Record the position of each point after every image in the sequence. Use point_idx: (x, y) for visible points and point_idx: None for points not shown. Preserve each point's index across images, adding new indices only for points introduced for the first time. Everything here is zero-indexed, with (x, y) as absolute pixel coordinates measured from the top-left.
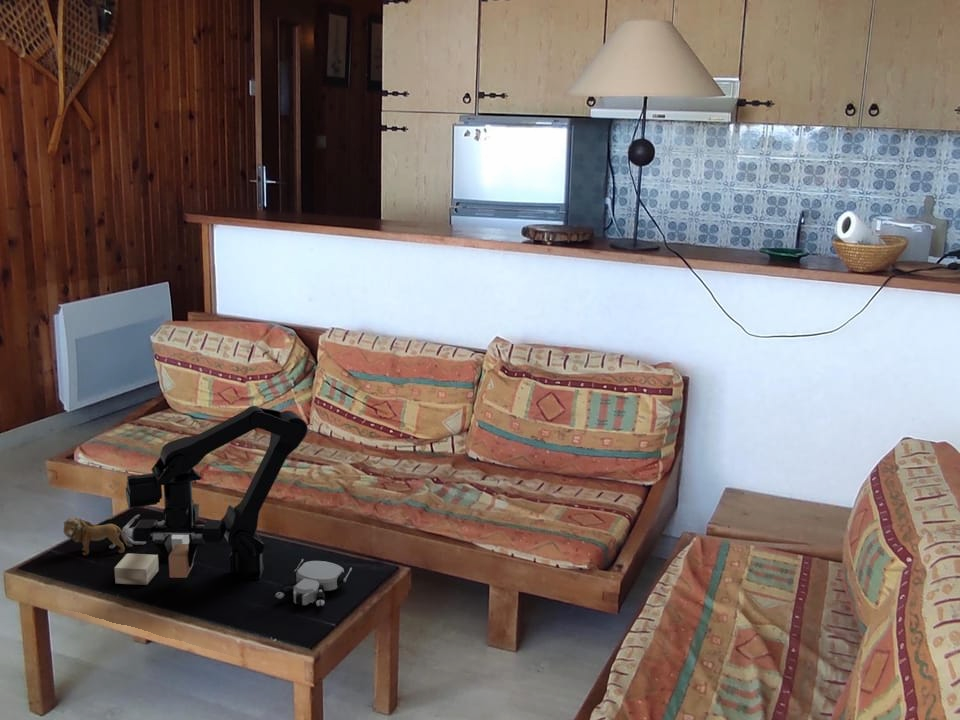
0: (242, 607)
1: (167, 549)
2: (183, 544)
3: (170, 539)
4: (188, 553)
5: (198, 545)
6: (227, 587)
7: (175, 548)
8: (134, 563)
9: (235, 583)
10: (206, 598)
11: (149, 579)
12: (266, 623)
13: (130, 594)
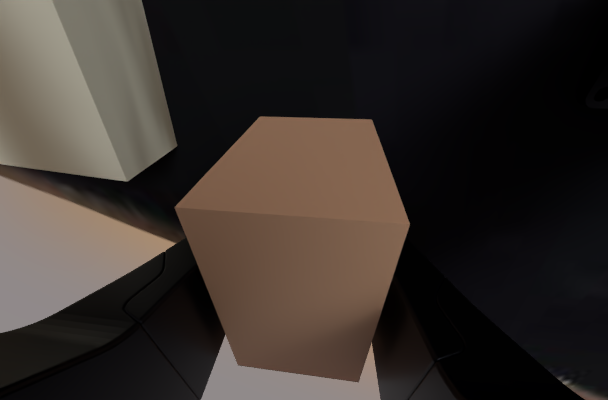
0: (535, 294)
1: (196, 393)
2: (281, 228)
3: (99, 395)
4: (378, 379)
5: (505, 346)
6: (523, 179)
7: (230, 294)
8: (11, 112)
9: (579, 144)
10: (421, 244)
11: (164, 120)
12: (574, 349)
13: (165, 206)
